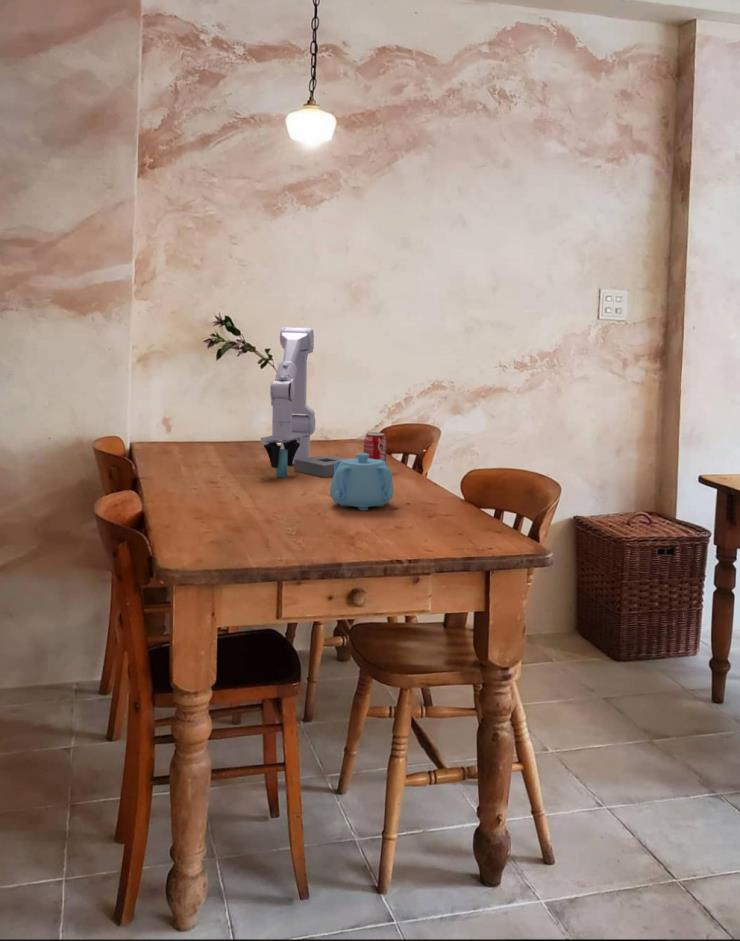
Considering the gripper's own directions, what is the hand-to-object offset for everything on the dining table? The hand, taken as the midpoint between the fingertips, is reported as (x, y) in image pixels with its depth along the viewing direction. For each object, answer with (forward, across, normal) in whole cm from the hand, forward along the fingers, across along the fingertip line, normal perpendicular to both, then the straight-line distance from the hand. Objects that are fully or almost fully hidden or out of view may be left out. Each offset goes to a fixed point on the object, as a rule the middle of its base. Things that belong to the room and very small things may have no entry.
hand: (281, 466), depth 276 cm
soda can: (+3, +28, -11) cm, 30 cm away
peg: (+3, 0, 0) cm, 3 cm away
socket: (+3, +16, -2) cm, 16 cm away
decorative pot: (+3, -9, -44) cm, 45 cm away
